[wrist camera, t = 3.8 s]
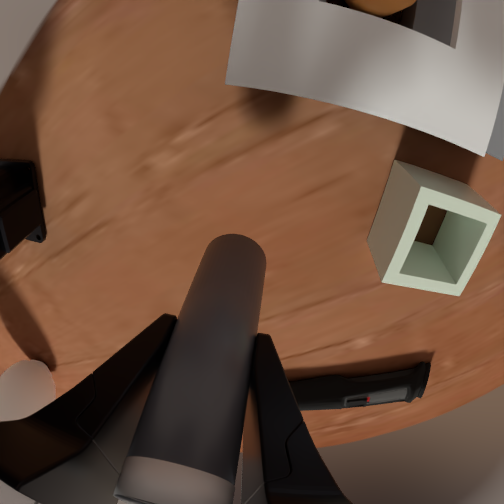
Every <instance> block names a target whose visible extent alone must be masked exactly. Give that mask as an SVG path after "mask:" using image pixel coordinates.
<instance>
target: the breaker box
mask: <svg viewBox="0 0 504 504" xmlns="http://www.w3.org/2000/svg"><path fill="white" fill-rule="evenodd" d="M225 84H227V85H235V86H242V87H249V88H256V89H262V90H268V91H274V92H280V93H285V94H290V95H295V96H300V97H305V98H310V99H314V100H319V101H323V102H327V103H331V104H335V105H339V106H343V107H347V108H351V109H354V110H358V111H361V112H365V113H368V114H372V115H375V116H378V117H382V118H385V119H388V120H391V121H394V122H397V123H400V124H403V125H406V126H409V127H412V128H415V129H417V130H420V131H423V132H426V133H428V134H431V135H434V136H436V137H439V138H441V139H444V140H446V141H449V142H451V143H453V144H456V145H458V146H461V147H463V148H465V149H467V150H470V151H472V152H474V153H476V154H479V155H481V156H483V157H484V156H485V153H487V154H489V155H491V156H493V157H495V158H497V159H499V160H501V161H503V158H504V0H416V2H415V3H414V4H412V5H411V6H409V7H407V8H405V9H403V12H402V18H401V23H400V25H399V24H396V23H393V22H390V21H388V20H385V19H382V18H379V17H376V16H373V15H369V14H366V13H363V12H360V11H356V10H353V9H349V8H345V7H341V6H338V5H334V4H329V3H326V0H239V2H238V7H237V13H236V19H235V24H234V30H233V36H232V42H231V48H230V55H229V61H228V67H227V74H226V81H225Z"/></svg>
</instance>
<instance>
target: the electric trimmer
mask: <svg viewBox="0 0 504 504" xmlns="http://www.w3.org/2000/svg"><path fill="white" fill-rule="evenodd" d="M430 367H431V363H427V364H425V362H420V363H419V365H418V366H417V367H416V368H414V369H409V370H404V371H398V372H392V373H386V374H379V375H372V376H365V377H357V378H349V379H347V378H344V377H342V376H339V375H333V376H327V377H321V378H315V379H309V380H303V381H296V382H290V383H289V384H290V387H291V389H292V392H293V394H294V397H295V399H296V402H297V404H298V407H299V409H300V411H303V410H326V409H341V408H350V407H361V406H363V407H365V406H370V405H378V404H386V403H393V402H402V401H405V402H409V403H410V402H412V400H414V399H415V398H416V397H419V398H421V397H422V395H423V393H424V390H425V388H426V385H427V381H428V378H429V373H430ZM425 370H426V371H425Z"/></svg>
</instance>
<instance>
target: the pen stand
mask: <svg viewBox="0 0 504 504" xmlns="http://www.w3.org/2000/svg"><path fill="white" fill-rule="evenodd" d="M428 205H432V206H435V207H438V208H442V209H445V210H447V213H446V215H445V218H444V220H443V222H442V225H441V227H440V229H439V232H438V234H437V236H436V238H435V241H434V243H433V245H429V244H425V243H421V242H416V241H414V239H415V237H416V235H417V232H418V230H419V228H420V225H421V223H422V220H423V218H424V215H425V213H426V210H427V208H428ZM500 217H501V214H500V213H499V212H498V211H497V210H496V209H495V208H493V207H492V206H491V205H490V204H489V203H488V202H487V201H486V200H485V199H484V198H482V197H481V196H480V195H479V194H478V193H477V192H476V191H474V190H473V189H472V188H471V187H470V186H468V185H467V184H465V183H462V182H460V181H457V180H454V179H452V178H449V177H446V176H443V175H441V174H438V173H435V172H432V171H429V170H426V169H423V168H420V167H417V166H414V165H411V164H408V163H405V162H402V161H398V160H395V159H394V162H393V165H392V169H391V172H390V175H389V178H388V181H387V184H386V187H385V190H384V193H383V196H382V199H381V202H380V205H379V208H378V211H377V214H376V217H375V219H374V222H373V225H372V228H371V230H370V233H369V236H368V238H367V243H368V246H369V248H370V251H371V254H372V256H373V259H374V262H375V265H376V268H377V270H378V273H379V276H380V279H381V282H383V283H389V284H394V285H400V286H405V287H411V288H416V289H422V290H428V291H433V292H439V293H444V294H450V295H456V296H460V294H461V292H462V291H463V289H464V287H465V286H466V284H467V282H468V280H469V279H470V277H471V275H472V273H473V271H474V270H475V268H476V266H477V264H478V262H479V260H480V258H481V256H482V255H483V253H484V251H485V249H486V247H487V245H488V243H489V241H490V239H491V236H492V234H493V232H494V230H495V228H496V226H497V224H498V221H499V219H500Z"/></svg>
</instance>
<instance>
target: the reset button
mask: <svg viewBox="0 0 504 504" xmlns="http://www.w3.org/2000/svg"><path fill="white" fill-rule="evenodd" d="M344 1H345V2H346V3H347V5H348V6H349V7H351V8H352V9H353V10H356V11H360V12H363V13H366V14H369V15H373V16H376V17H379V18H383V17H387V16H389V15H391V14H394V13H396V12H398V11H400V10H402V9H405V8H407V7H409V6H411V5H412V4H414V3H415V2H416V0H344Z"/></svg>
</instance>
